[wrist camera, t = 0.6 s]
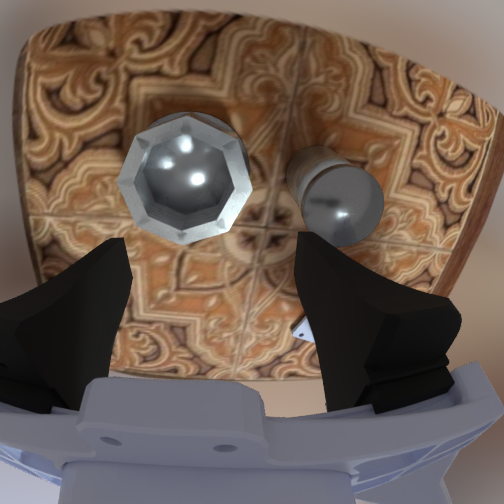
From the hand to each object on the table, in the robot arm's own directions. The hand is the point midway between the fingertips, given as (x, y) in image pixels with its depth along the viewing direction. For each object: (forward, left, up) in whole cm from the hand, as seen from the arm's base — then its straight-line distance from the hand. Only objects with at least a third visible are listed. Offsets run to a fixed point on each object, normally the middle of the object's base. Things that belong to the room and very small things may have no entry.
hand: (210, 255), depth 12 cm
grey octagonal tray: (+2, 0, -10) cm, 10 cm away
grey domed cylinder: (-6, -4, -10) cm, 12 cm away
